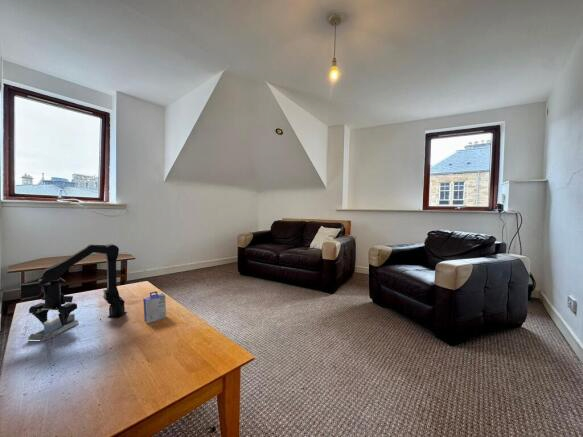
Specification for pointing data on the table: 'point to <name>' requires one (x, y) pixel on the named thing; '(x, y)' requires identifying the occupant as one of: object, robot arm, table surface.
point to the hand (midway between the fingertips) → (54, 325)
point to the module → (52, 325)
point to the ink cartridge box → (154, 307)
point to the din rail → (45, 336)
